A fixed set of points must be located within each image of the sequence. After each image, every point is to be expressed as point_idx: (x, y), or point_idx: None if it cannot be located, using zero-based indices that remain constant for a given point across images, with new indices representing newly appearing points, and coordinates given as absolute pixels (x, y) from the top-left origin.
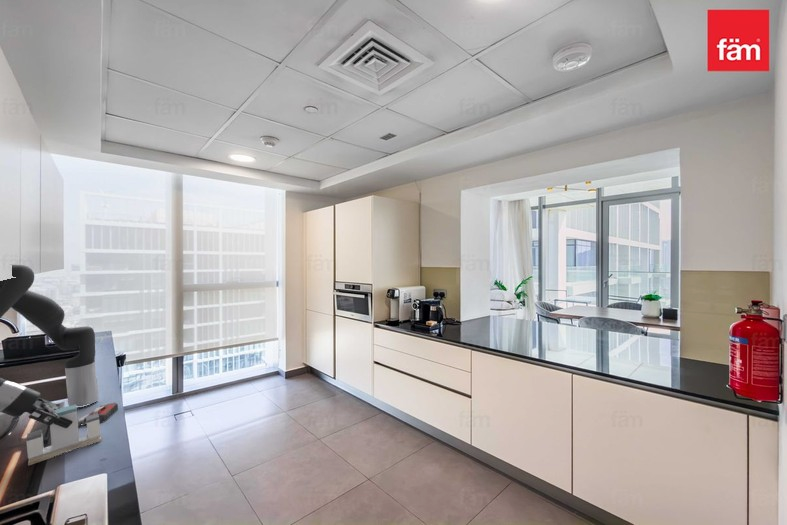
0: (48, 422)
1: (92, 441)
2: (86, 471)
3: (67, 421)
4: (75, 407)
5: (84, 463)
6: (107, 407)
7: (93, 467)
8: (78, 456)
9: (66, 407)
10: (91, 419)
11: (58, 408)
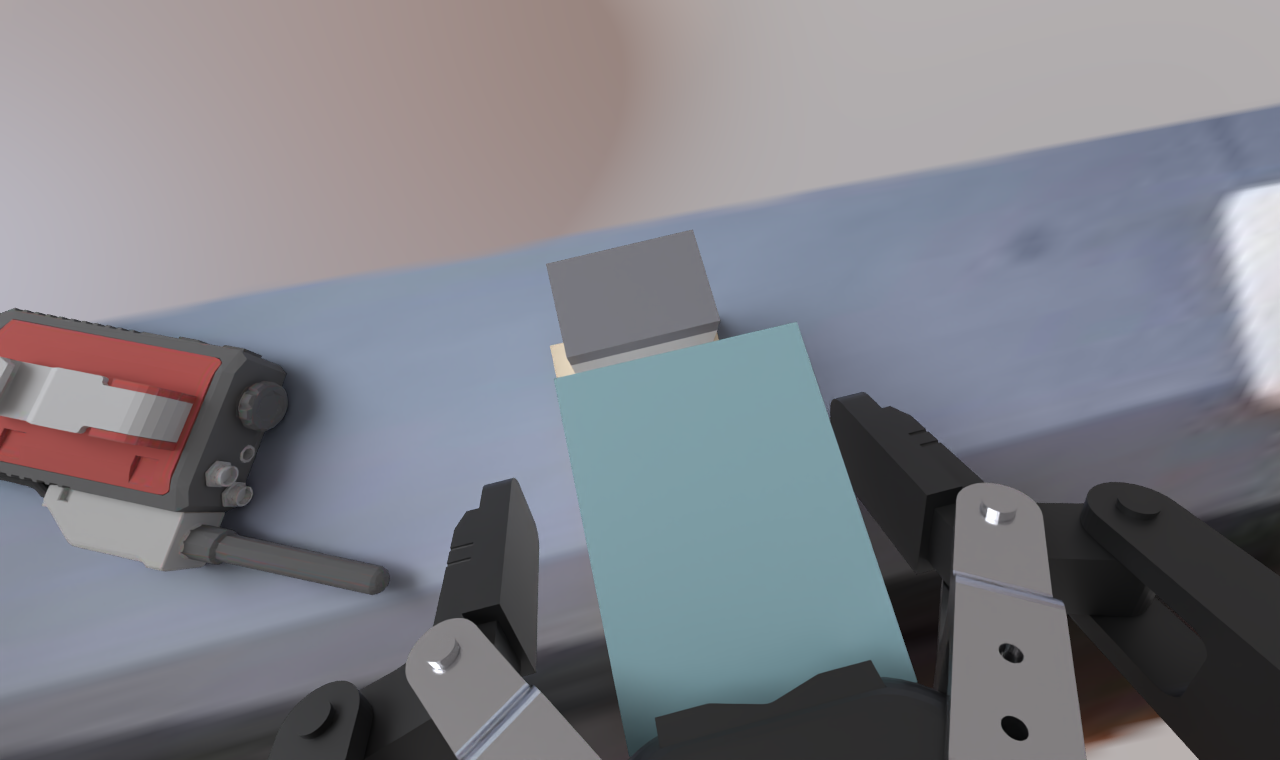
0: (1155, 600)
1: None
2: (1152, 299)
3: (903, 427)
4: (749, 343)
5: (1027, 336)
6: (58, 362)
7: (1118, 274)
8: (886, 398)
9: (624, 494)
10: (708, 285)
11: (490, 647)
